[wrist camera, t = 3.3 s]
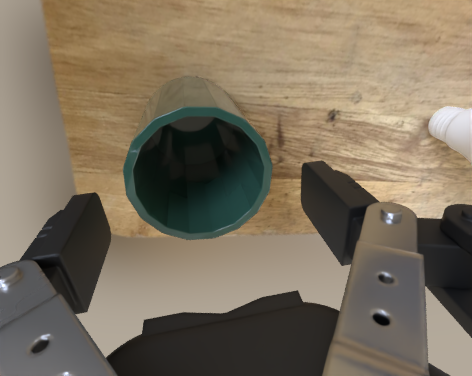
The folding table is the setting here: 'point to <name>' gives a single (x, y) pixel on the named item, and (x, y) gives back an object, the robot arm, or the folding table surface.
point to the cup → (196, 162)
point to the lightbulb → (453, 129)
